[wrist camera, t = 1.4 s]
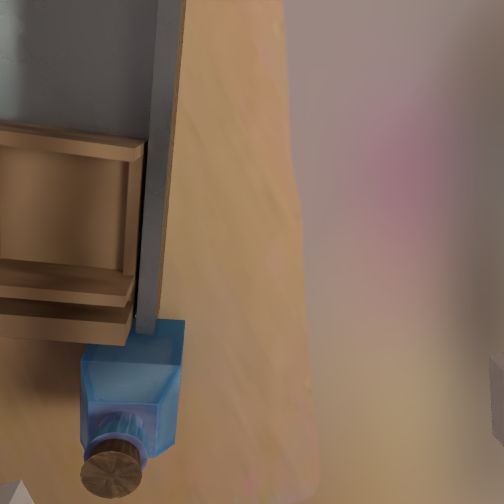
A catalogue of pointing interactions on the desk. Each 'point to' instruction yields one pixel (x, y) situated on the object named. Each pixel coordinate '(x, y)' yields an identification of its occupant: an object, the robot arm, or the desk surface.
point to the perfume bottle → (129, 406)
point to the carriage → (69, 233)
